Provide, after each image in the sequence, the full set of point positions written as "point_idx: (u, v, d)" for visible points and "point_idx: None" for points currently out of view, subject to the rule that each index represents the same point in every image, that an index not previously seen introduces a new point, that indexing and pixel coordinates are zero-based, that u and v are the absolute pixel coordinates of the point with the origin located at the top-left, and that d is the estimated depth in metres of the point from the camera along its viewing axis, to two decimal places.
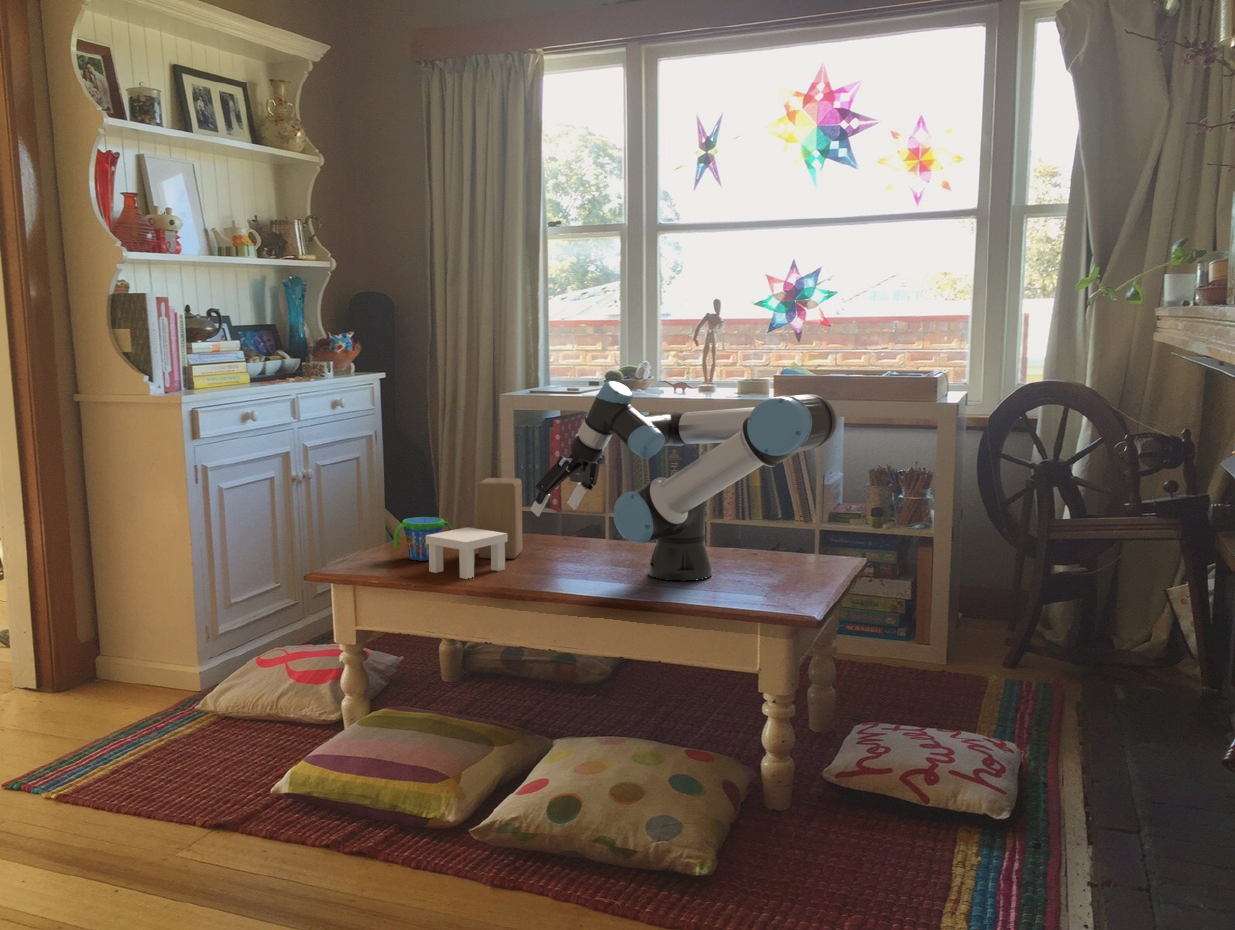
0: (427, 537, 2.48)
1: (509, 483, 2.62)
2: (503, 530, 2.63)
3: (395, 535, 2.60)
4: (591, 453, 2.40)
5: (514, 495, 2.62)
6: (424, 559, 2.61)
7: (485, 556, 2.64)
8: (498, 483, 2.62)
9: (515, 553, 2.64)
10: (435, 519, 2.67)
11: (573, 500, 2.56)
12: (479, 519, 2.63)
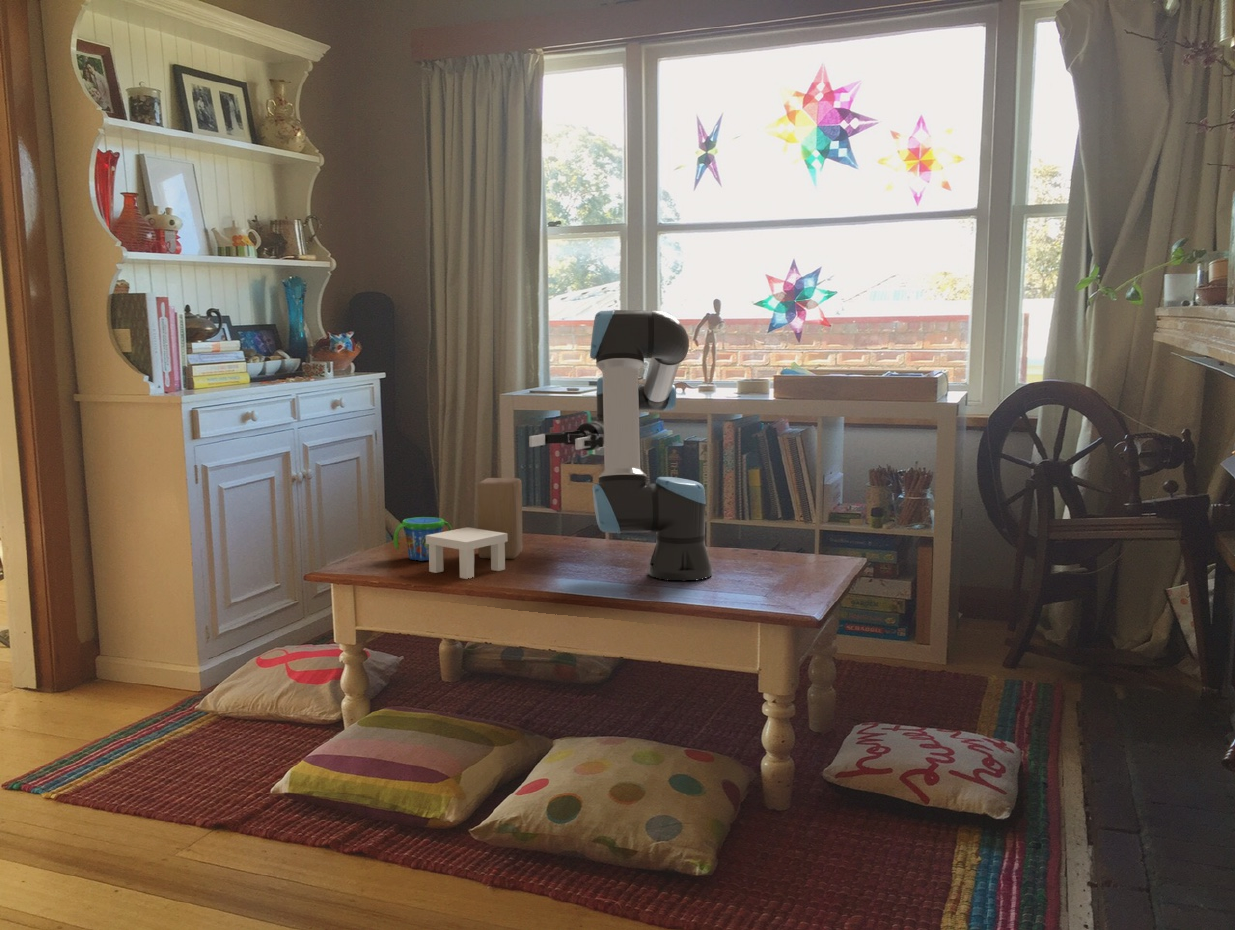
0: (427, 537, 2.48)
1: (509, 483, 2.62)
2: (503, 530, 2.63)
3: (395, 535, 2.60)
4: None
5: (514, 495, 2.62)
6: (424, 559, 2.61)
7: (485, 556, 2.64)
8: (498, 483, 2.62)
9: (515, 553, 2.64)
10: (435, 519, 2.67)
11: None
12: (479, 519, 2.63)
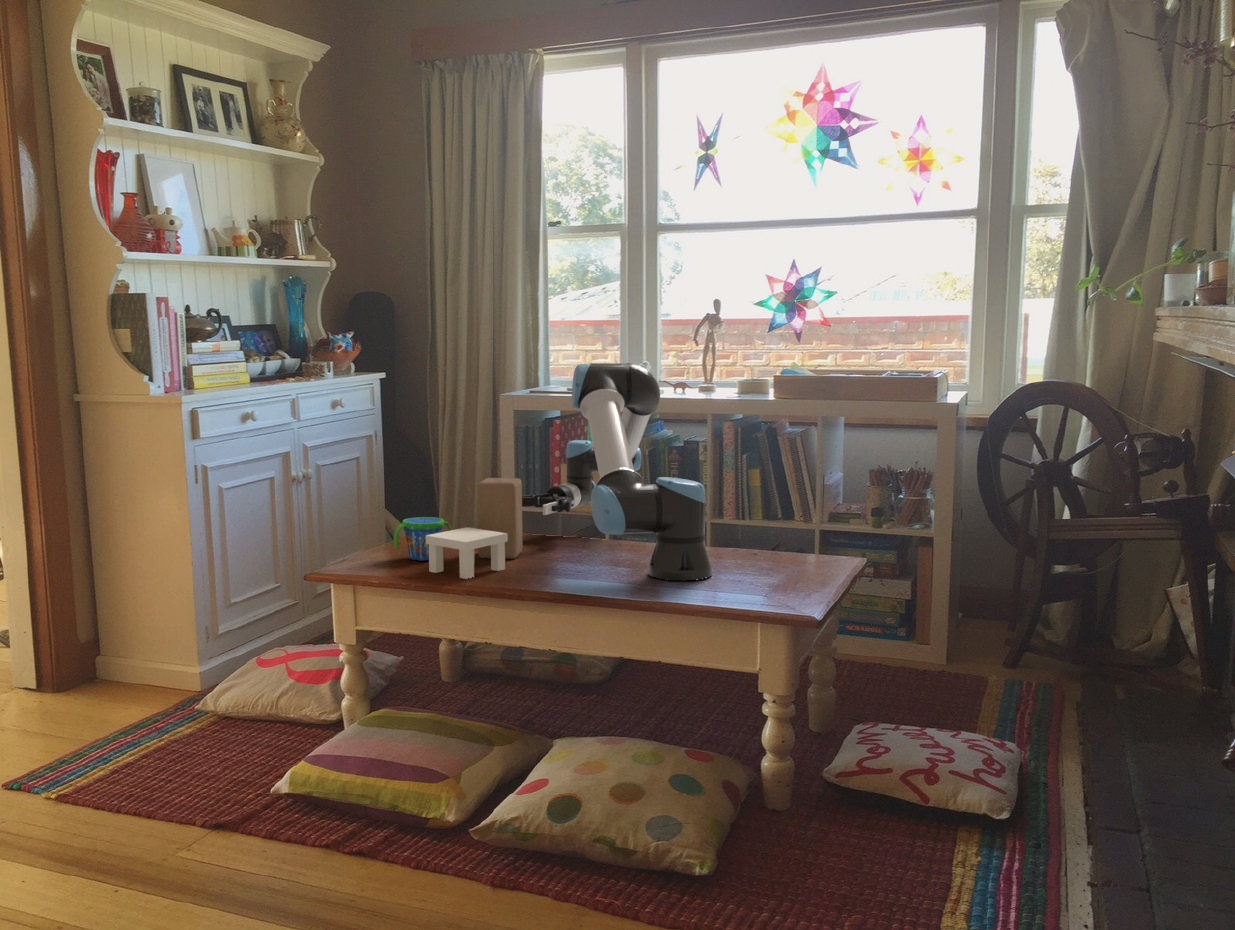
0: (427, 537, 2.48)
1: (509, 483, 2.62)
2: (503, 530, 2.63)
3: (395, 535, 2.60)
4: None
5: (514, 495, 2.62)
6: (424, 559, 2.61)
7: (485, 556, 2.64)
8: (498, 483, 2.62)
9: (515, 553, 2.64)
10: (435, 519, 2.67)
11: None
12: (479, 519, 2.63)
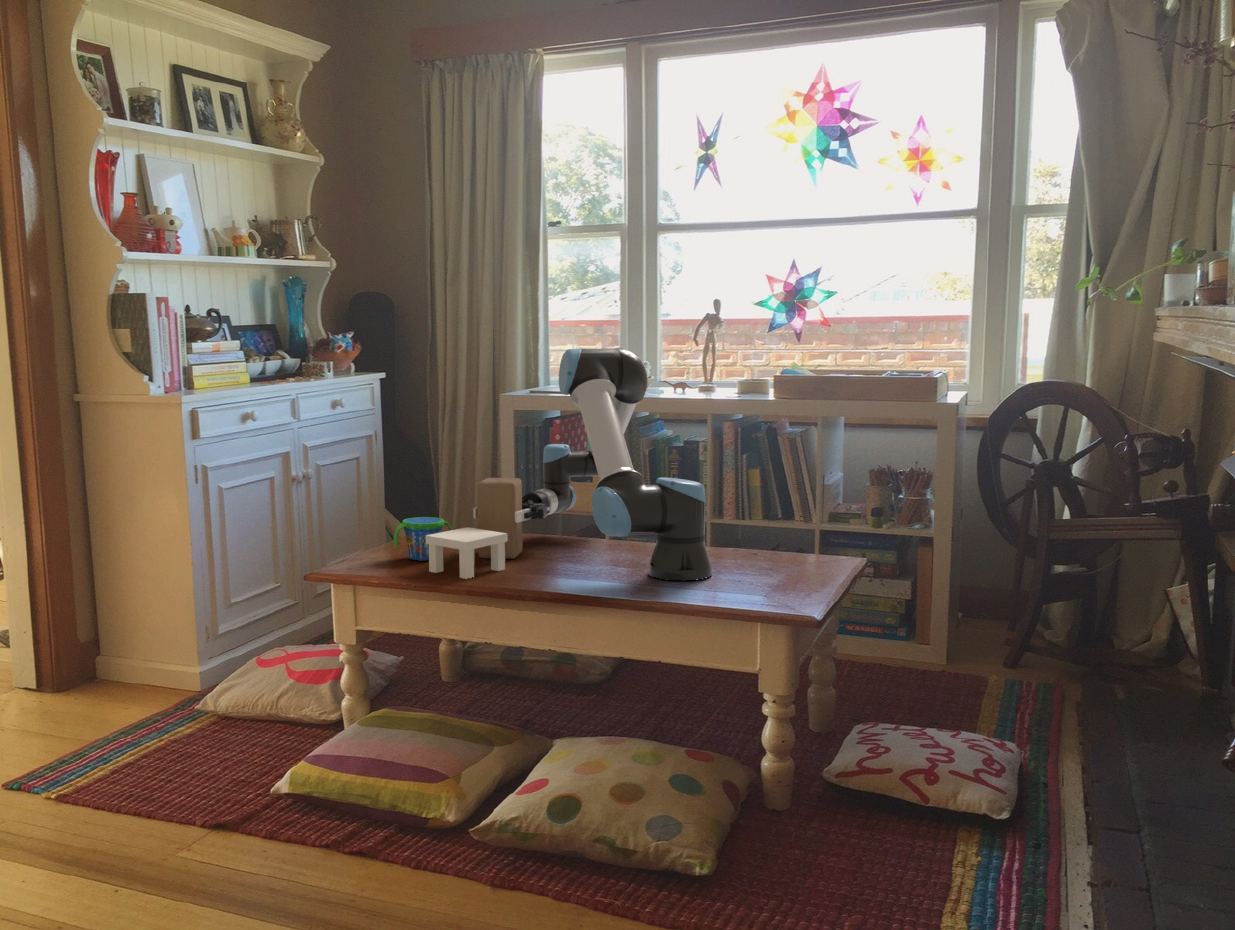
0: (427, 537, 2.48)
1: (509, 483, 2.62)
2: (503, 529, 2.63)
3: (395, 535, 2.60)
4: None
5: (514, 495, 2.62)
6: (424, 559, 2.61)
7: (485, 556, 2.64)
8: (498, 483, 2.62)
9: (515, 553, 2.64)
10: (435, 519, 2.67)
11: None
12: (479, 519, 2.63)
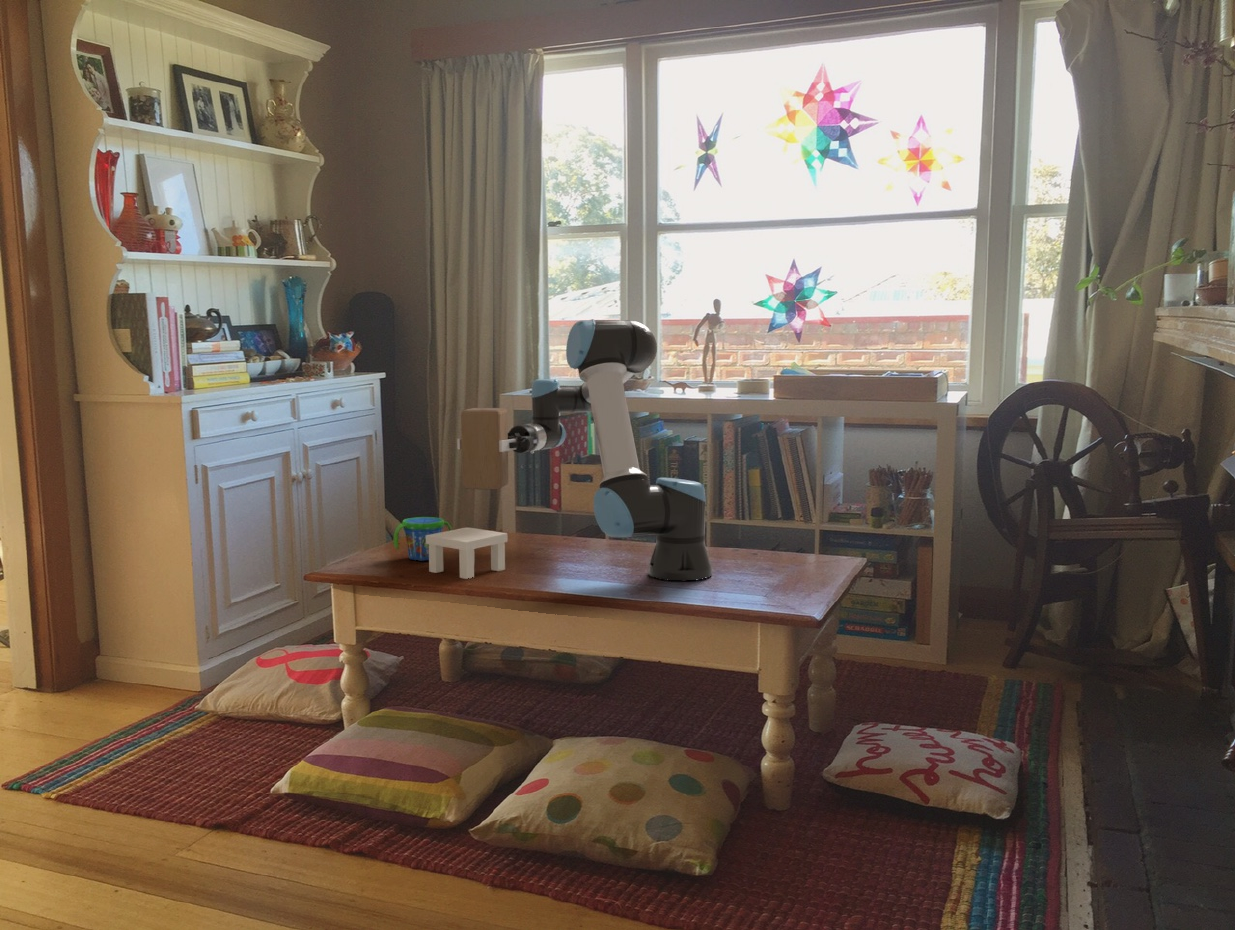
0: (427, 537, 2.48)
1: (493, 411, 2.54)
2: (488, 459, 2.55)
3: (395, 535, 2.60)
4: None
5: (498, 423, 2.54)
6: (424, 559, 2.61)
7: (469, 487, 2.57)
8: (482, 411, 2.55)
9: (500, 483, 2.56)
10: (435, 519, 2.67)
11: None
12: (463, 448, 2.56)
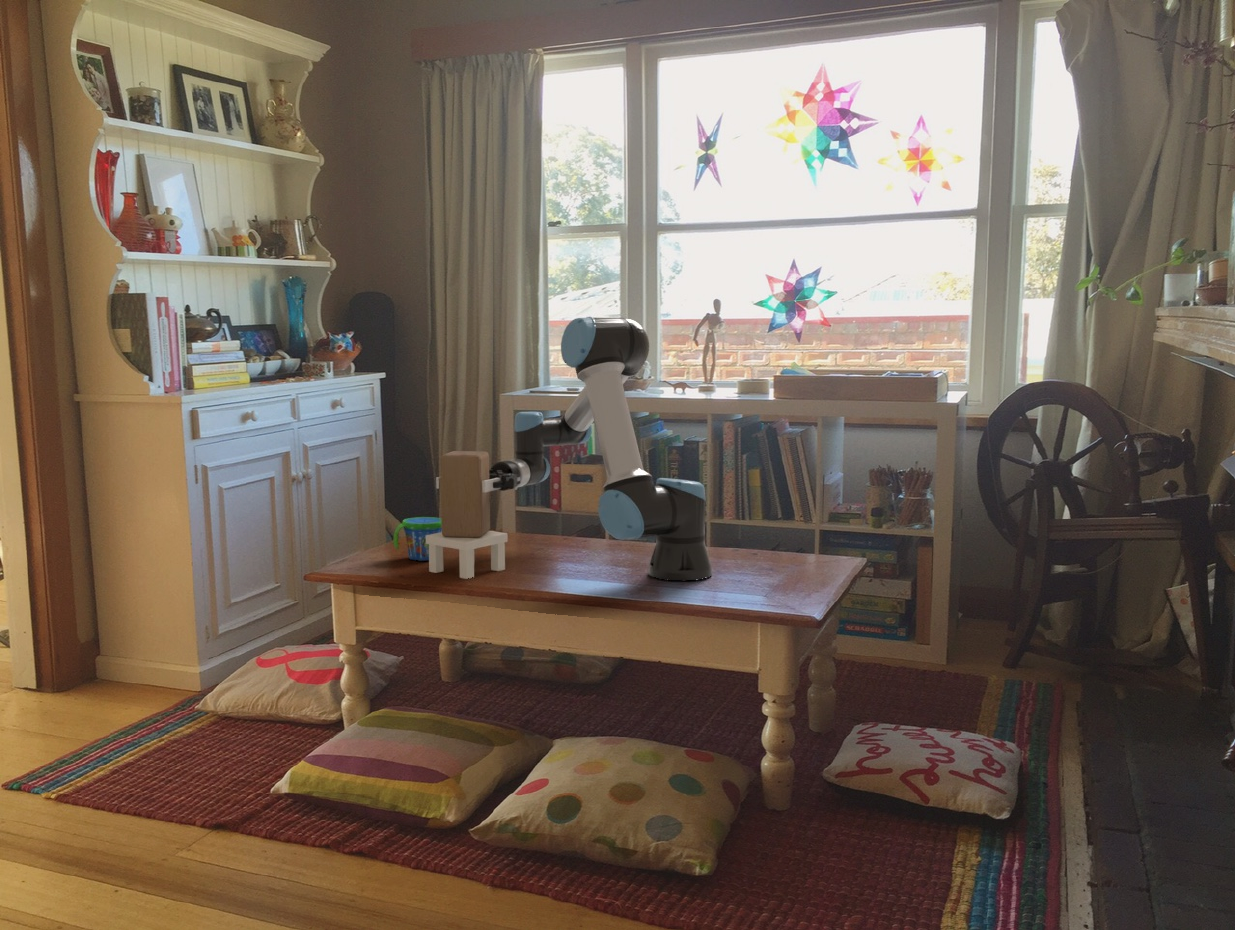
0: (427, 537, 2.48)
1: (474, 456, 2.43)
2: (468, 506, 2.44)
3: (395, 535, 2.60)
4: None
5: (479, 469, 2.43)
6: (424, 559, 2.61)
7: (448, 535, 2.46)
8: (462, 456, 2.43)
9: (481, 531, 2.45)
10: (435, 519, 2.67)
11: None
12: (442, 494, 2.45)
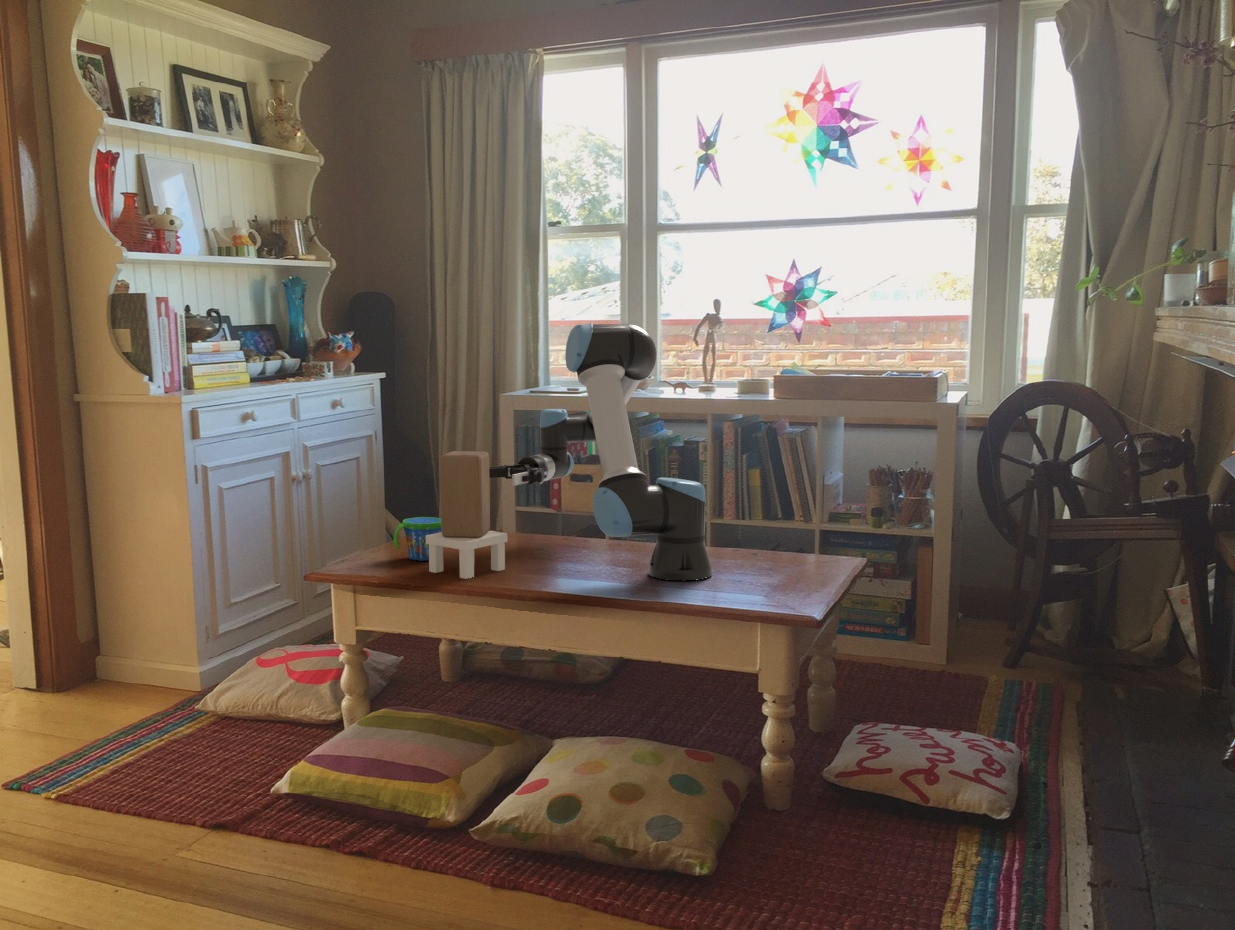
0: (427, 537, 2.48)
1: (474, 456, 2.43)
2: (468, 506, 2.44)
3: (395, 535, 2.60)
4: None
5: (479, 469, 2.43)
6: (424, 559, 2.61)
7: (448, 535, 2.46)
8: (462, 456, 2.43)
9: (481, 531, 2.45)
10: (435, 519, 2.67)
11: None
12: (442, 494, 2.45)
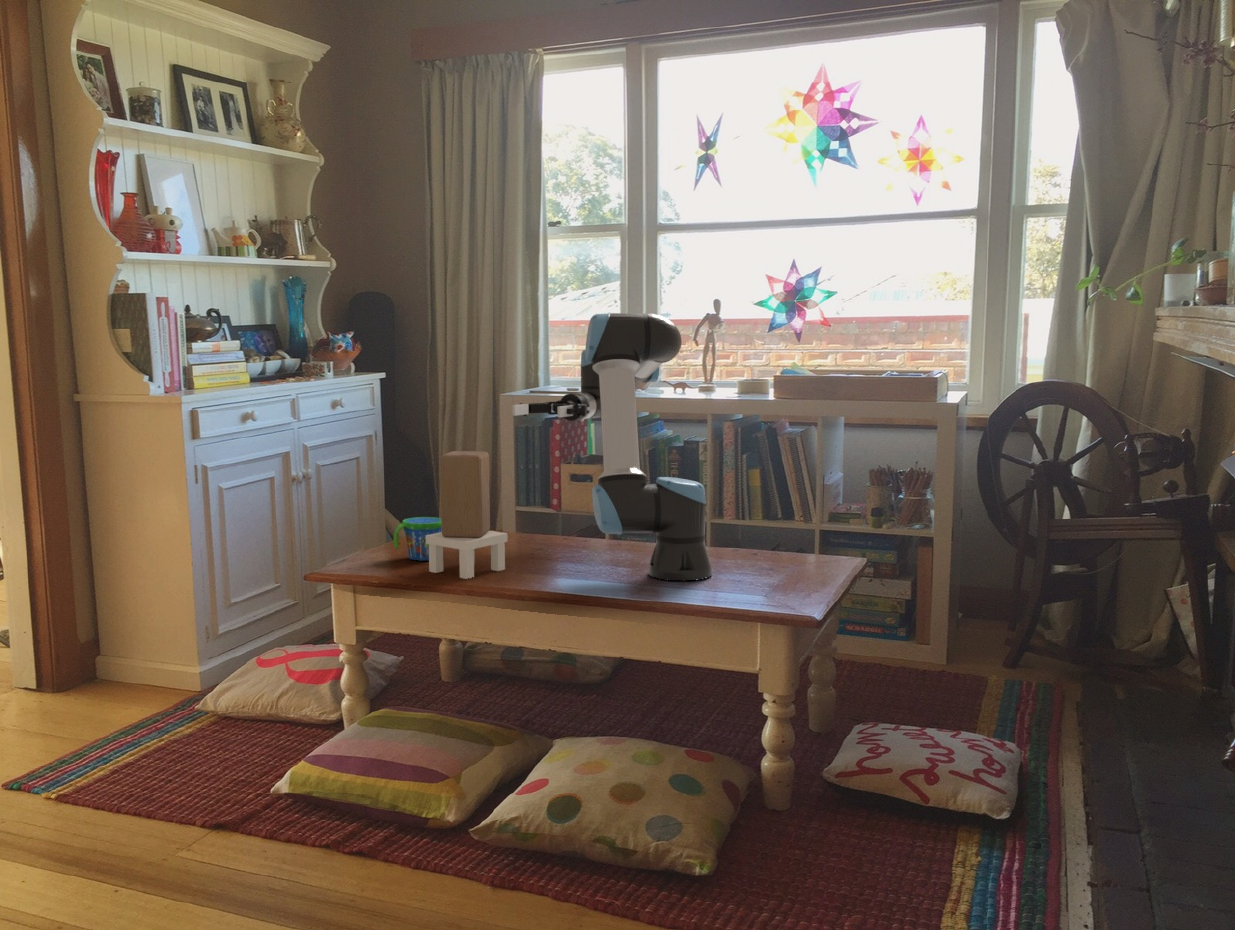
0: (427, 537, 2.48)
1: (474, 456, 2.43)
2: (468, 506, 2.44)
3: (395, 535, 2.60)
4: None
5: (479, 469, 2.43)
6: (424, 559, 2.61)
7: (448, 535, 2.46)
8: (462, 456, 2.43)
9: (481, 531, 2.45)
10: (435, 519, 2.67)
11: None
12: (442, 494, 2.45)
